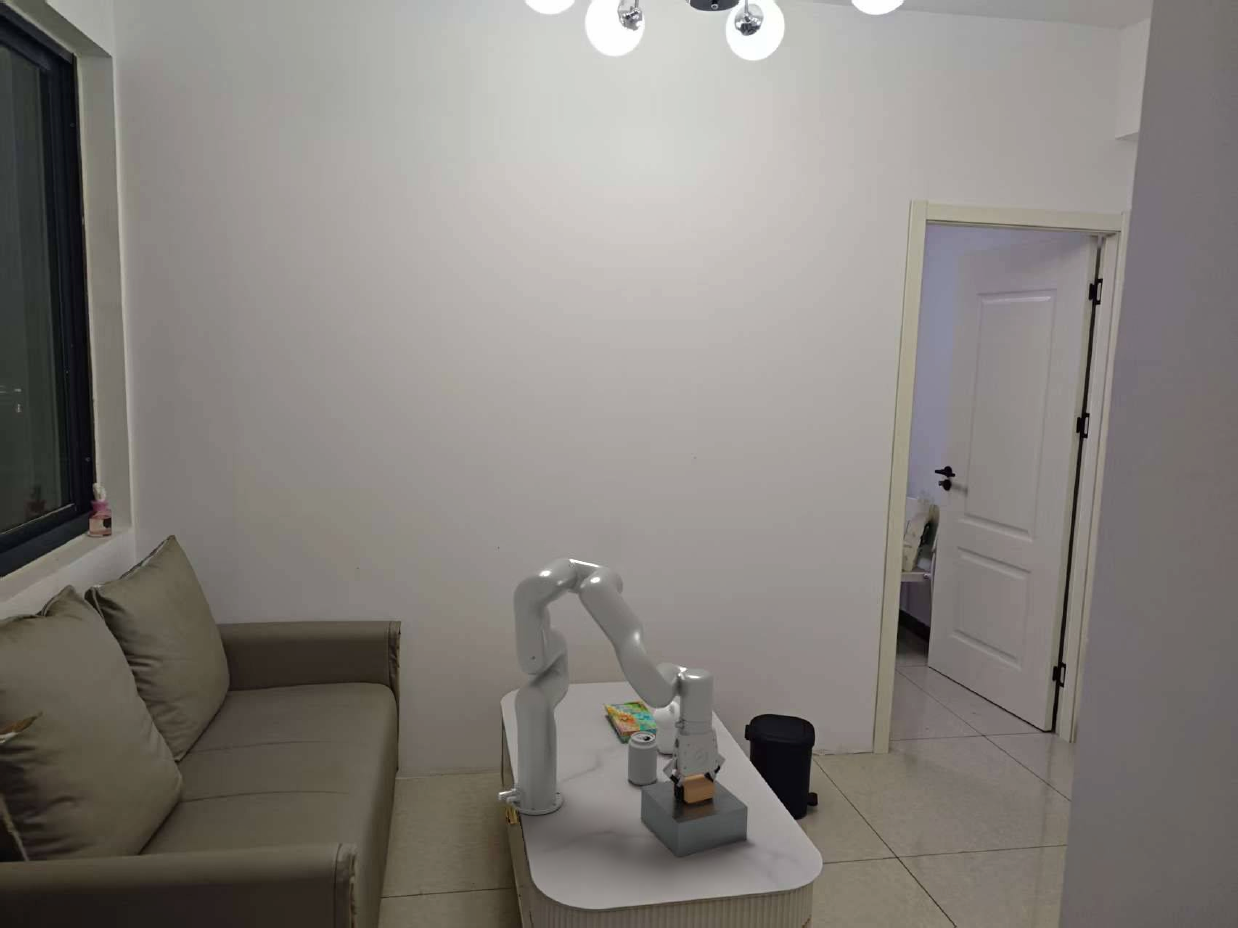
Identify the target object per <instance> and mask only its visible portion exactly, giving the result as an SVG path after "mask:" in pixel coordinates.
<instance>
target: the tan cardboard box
mask: <svg viewBox="0 0 1238 928" xmlns="http://www.w3.org/2000/svg"><path fill="white" fill-rule="evenodd" d="M679 777H680V776H679ZM678 779H679V778H678ZM682 785H683V786H684V800H685V801H686V802H687V803H688V804H689V805H690V804H694V803H698V802H702V801H705V799H708V798H713V797H715V784H714V783H712V782H711V781H710V780H708V779H707V778H706V777H705V776H704V775H703V774H699V775H694V776H690V777H685V779H684V782H683V784H682ZM673 790H674V782H673Z"/></svg>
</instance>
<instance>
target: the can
mask: <svg viewBox="0 0 1238 928" xmlns="http://www.w3.org/2000/svg"><path fill="white" fill-rule="evenodd" d="M627 753H628V755H627V757H628V758H627V759H628V760H627V762H628V763H627V769H628V770H627V778H628V780H629V781H631V783H633V784H635V785H637V786H647V785H652V784H653V782H655V781H656V780H657V777H658V775H657V772H658V771H657V770H658V769H657V768H658V749H657V741H656V738H655V736H654V735H653V734H652V733H649V732H636V733H634V734H632V735H631V739H630V740H629V741H628V752H627Z"/></svg>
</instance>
